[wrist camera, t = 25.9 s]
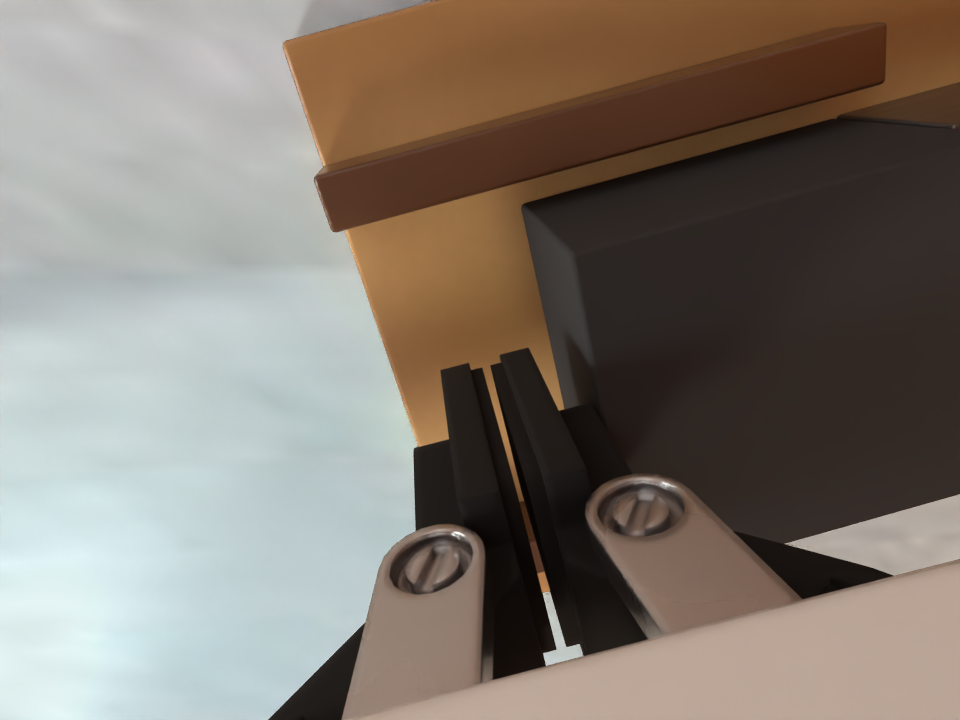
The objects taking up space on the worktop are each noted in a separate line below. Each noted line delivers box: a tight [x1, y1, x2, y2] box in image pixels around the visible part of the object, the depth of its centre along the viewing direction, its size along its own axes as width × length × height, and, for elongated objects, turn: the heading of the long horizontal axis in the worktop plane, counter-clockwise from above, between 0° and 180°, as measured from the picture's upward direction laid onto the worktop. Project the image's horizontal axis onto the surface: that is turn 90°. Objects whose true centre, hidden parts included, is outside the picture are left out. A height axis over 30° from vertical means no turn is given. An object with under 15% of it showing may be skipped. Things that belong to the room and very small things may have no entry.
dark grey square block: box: [521, 119, 960, 544], centre depth 12 cm, size 6×6×4 cm
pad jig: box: [283, 0, 960, 593], centre depth 13 cm, size 14×19×4 cm
